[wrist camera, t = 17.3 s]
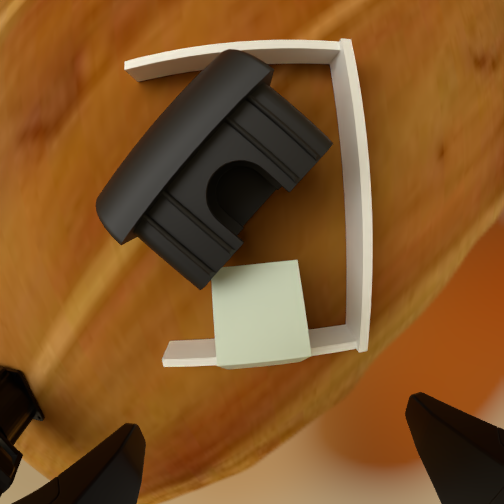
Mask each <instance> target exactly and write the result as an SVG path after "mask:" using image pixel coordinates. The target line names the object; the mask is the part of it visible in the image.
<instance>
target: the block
mask: <svg viewBox="0 0 504 504" xmlns="http://www.w3.org/2000/svg"><path fill="white" fill-rule="evenodd" d="M211 281H212V299H213V316H214V331H215V345H216V359H217V366H219V367H222V368H225V369H239V368H250V367H261V366H270V365H279V364H287V363H295V362H301V361H303V360H305V359H307V358H309V357H311V348H310V341H309V333H308V326H307V319H306V312H305V305H304V299H303V292H302V286H301V279H300V273H299V267H298V261H297V260H290V261H281V262H271V263H262V264H252V265H242V266H232V267H222V268H221V269H220V270H219V271H218V272H217V273H216V274H215V276H214V277H213V278H212V279H211Z"/></svg>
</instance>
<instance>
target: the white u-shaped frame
mask: <svg viewBox="0 0 504 504" xmlns="http://www.w3.org/2000/svg"><path fill="white" fill-rule="evenodd" d="M228 49H236V50H240V51H244V52H246V53H248V54H251V55H253V56H255V57H257V58H258V59H260V60H262V61H263V62H265V63H266V64H293V63H303V64H330V70H331V76H332V82H333V89H334V96H335V103H336V111H337V119H338V128H339V137H340V147H341V157H342V169H343V183H344V199H345V220H346V257H347V290H346V324H345V325H338V326H331V327H324V328H317V329H309V330H308V333H309V341H310V348H311V356H314V355H321V354H328V353H334V352H340V351H346V350H352V349H357V350H358V352H364V351H367V349H368V338H369V326H370V312H371V293H372V201H371V182H370V168H369V156H368V145H367V135H366V127H365V119H364V111H363V104H362V97H361V90H360V84H359V78H358V73H357V67H356V62H355V57H354V52H353V47H352V42H351V39H342V38H341V40H340V41H339V42H335V41H318V40H260V41H243V42H231V43H221V44H212V45H205V46H197V47H191V48H185V49H179V50H173V51H168V52H163V53H158V54H153V55H149V56H145V57H140V58H136V59H132V60H129V61H125V71H126V72H128V73H129V74H130V75H131V76H132V77H133V78H134V79H135V80H136V81H137V82H140V81H144V80H148V79H153V78H158V77H163V76H168V75H174V74H179V73H185V72H192V71H199V70H204V69H205V68H206V67H207V66H208V65H209V64H210V63H211V62H212V61H213V60H214V59H215V58H216V57H217V56H218V55H219V54H220V53H221V52H223V51H225V50H228ZM162 362H163V366H164V367H183V366H210V365H217V359H216V345H215V339H200V340H179V341H170V342H169V344H168V346H167V348H166V351H165V353H164V355H163V358H162Z"/></svg>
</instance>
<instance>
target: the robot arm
mask: <svg viewBox="0 0 504 504" xmlns="http://www.w3.org/2000/svg"><path fill="white" fill-rule="evenodd" d="M405 416H406V420H407V423H408V425H409V428H410V431H411V434H412V437H413V440H414V443H415V446H416V448H417V451H418V454H419V456H420V458H421V460H422V462H423V464H424V466H425V468H426V471H427V473H428V475H429V477H430V479H431V481H432V483H433V486H434V488H435V490H436V492H437V495H438V497H439V499H440V501H441V503H442V504H504V429H501V428H497V426H494V425H492V424H490V423H487V422H485V421H483V420H480V419H478V418H476V417H474V416H472V415H469V414H467V413H465V412H463V411H461V410H458V409H456V408H454V407H452V406H450V405H448V404H445V403H443V402H441V401H439V400H437V399H435V398H433V397H431V396H429V395H427V394H425V393H422V392H419V393H416V394H413V395H411V396H410V397H409V401H408V404H407V408H406V412H405ZM32 419H35V420H39V421H43V420H44V416H43V414H42V412H41V410H40V408H39V407H38V405H37V403H36V401H35V399H34V397H33V395H32V393H31V391H30V389H29V387H28V385H27V383H26V381H25V379H24V377H23V375H22V373H21V372H20V371H18V370H14V369H9V368H4V367H0V496H1V494H2V493H4V492H5V491H6V490H7V489H8V488H9V487H10V485H11V484H12V483H13V480H14V478H15V475H16V472H17V469H18V466H19V464H20V461H21V459H22V456H23V454H22V453H21V452H20V451H18V450H17V449H16V448H15V447H14V446H13V445H14V444H15V442H16V441H17V440H18V438H19V437H20V435H21V434H22V433H23V431H24V430H25V429H26V427H27V426H28V424H29V423H30V422H31V420H32ZM145 447H146V443H145V439H144V437H143V434H142V432H141V430H140V428H139V426H138V425H137V424H132V423H126V424H124V425H123V426H121V427H120V428H119V429H118V430H116V431H115V432H114V433H113V434H111V435H110V436H109V437H108V438H106V439H105V440H104V441H103V442H101V443H100V444H99V445H98V446H96V447H95V448H94V449H92V450H91V451H90V452H89V453H87V454H86V455H85V456H83V457H82V458H81V459H79V460H78V461H77V462H76V463H74V464H73V465H72V466H70V467H69V468H68V469H66V470H65V471H64V472H62V473H61V474H60V475H58V477H55V478H54V479H53V480H51V481H50V482H48V483H47V484H45V485H44V486H43V487H41V488H39V489H38V490H36V491H34V492H33V493H31V494H29V495H27V496H25V497H24V498H22V499H20V500H18V501H16V502H14V503H12V504H136V503H137V499H138V495H139V490H140V486H141V481H142V473H143V464H144V455H145Z"/></svg>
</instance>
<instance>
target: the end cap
mask: <svg viewBox="0 0 504 504" xmlns="http://www.w3.org/2000/svg"><path fill="white" fill-rule="evenodd" d="M273 72H274V69H273V68H272V67H270V66H269V65H268V64H266V63H265V62H263V61H262V60H260V59H258V58H257V57H255V56H253V55H251V54H248V53H246V52H244V51H240V50H236V49H228V50H225V51H223V52H221V53H220V54H219V55H218V56H217V57H216V58H215V59H214V60H213V61H212V62H211V63H210V64H209V65H208V66H207V67H206V68H205V69H204V70H202V71H201V72H200V73H199V74H198V75H197V76H196V77H195V78H194V80H193V81H192V82H191V83H190V84H189V85H188V86H187V87H186V88H185V89H184V90H183V91H182V92H181V93H180V94H179V95H178V96H177V97H176V98H175V100H174V101H173V102H172V103H171V104H170V105H169V106H168V107H167V108H166V110H165V111H164V112H163V113H162V114H161V115H160V116H159V118H158V119H157V120H156V121H155V122H154V123H153V125H152V126H151V127H150V128H149V129H148V131H147V132H146V133H145V134H144V135H143V137H142V138H141V139H140V140H139V142H138V143H137V144H136V145H135V147H134V148H133V149H132V151H131V152H130V153H129V154H128V156H127V157H126V158H125V160H124V161H123V162H122V164H121V165H120V166H119V168H118V169H117V171H116V172H115V173H114V175H113V176H112V177H111V179H110V180H109V182H108V183H107V185H106V186H105V187H104V189H103V190H102V192H101V193H100V195H99V196H98V198H97V201H96V211H97V214H98V216H99V219H100V221H101V222H102V224H103V225H104V227H105V228H106V230H107V231H108V232H109V233H110V234H111V236H112V237H113V238H114V239H115V240H116V241H117V242H118V243H119V244H120V245H123V244H125V243H126V242H128V241H130V240H132V239H134V238H136V237H138V238H140V239H141V240H142V241H143V242H144V243H145V244H146V245H148V246H149V247H150V248H151V249H152V250H153V251H154V252H156V253H157V254H158V255H159V256H160V257H161V258H163V259H164V260H165V261H166V262H167V263H168V264H170V265H171V266H172V267H173V268H174V269H175V270H177V271H178V272H179V273H180V274H181V275H183V276H184V277H185V278H186V279H187V280H189V281H190V282H191V283H192V284H193V285H195V286H196V287H197V288H198V289H200V290H201V289H203V288H204V287H205V286H206V285H207V283H208V282H209V281H210V280H211V279H212V278H213V277H214V276H215V274H216V273H217V272H218V271H219V270H220V269H221V268H222V267H223V266H224V264H225V263H226V262H227V261H228V260H229V259H230V258H231V257H232V255H233V254H234V253H235V252H236V251H237V250H238V249H239V248H240V246H241V245H242V244H243V243H244V241H243V240H242V239H240V238H239V237H238V236H237V235H238V234H239V233H240V232H241V230H242V229H243V228H244V227H243V226H244V225H245V223H246V222H247V221H248V220H249V219H250V218H251V217H252V216H253V214H254V213H255V212H256V211H257V210H258V209H259V208H260V207H261V206H262V204H263V203H264V202H265V201H266V200H267V199H268V198H269V197H270V196H271V194H272V193H273V192H274V191H275V190H276V189H277V190H278V189H279V188H280V187H281V186H282V187H283V188H285V189H286V190H287V191H288V192H290V191H291V190H292V189H293V188H294V187H295V186H296V185H297V183H298V182H299V181H300V180H301V179H302V178H303V177H304V176H305V175H306V174H307V172H308V171H309V170H310V169H311V168H312V167H313V166H314V165H315V164H316V163H317V162H318V160H319V159H320V158H321V157H322V156H323V155H324V154H325V153H326V152H327V151H328V150H329V148H330V147H331V146H332V144H333V143H332V142H331V141H330V140H329V139H328V137H327V136H326V135H325V134H324V133H323V132H321V131H320V130H319V129H318V128H317V127H316V126H315V125H314V124H313V123H312V122H311V121H310V120H308V119H307V118H306V117H305V116H304V115H303V114H302V113H301V112H299V111H298V110H297V109H296V108H295V107H294V106H293V105H291V104H290V103H289V102H288V101H287V100H286V99H284V98H283V97H282V96H281V95H280V94H278V93H277V92H276V91H275V90H273V89H272V88H271V87H270V83H271V79H272V76H273Z"/></svg>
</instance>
